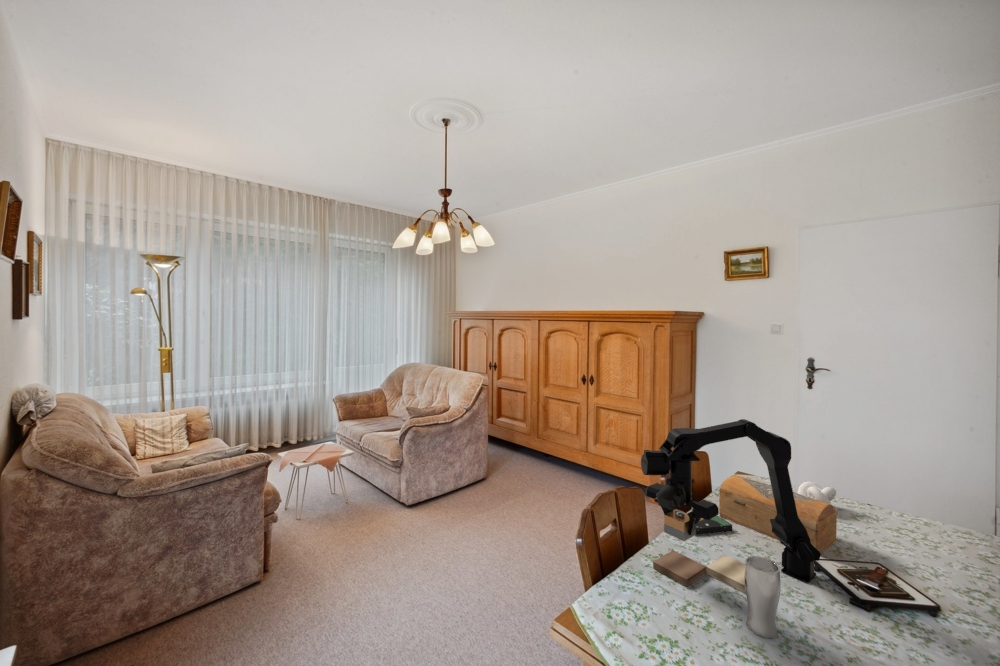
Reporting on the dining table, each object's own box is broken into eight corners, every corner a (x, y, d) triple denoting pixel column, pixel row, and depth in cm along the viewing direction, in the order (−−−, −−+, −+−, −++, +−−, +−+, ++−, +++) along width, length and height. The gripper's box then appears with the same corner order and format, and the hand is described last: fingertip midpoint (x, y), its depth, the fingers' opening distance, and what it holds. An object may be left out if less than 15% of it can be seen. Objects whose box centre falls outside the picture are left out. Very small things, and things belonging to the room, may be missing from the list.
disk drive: (693, 537, 133) (733, 532, 136) (693, 529, 133) (733, 524, 136) (674, 522, 143) (711, 518, 146) (674, 514, 143) (711, 510, 146)
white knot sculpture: (793, 508, 153) (794, 484, 153) (800, 498, 161) (801, 476, 161) (831, 518, 145) (832, 493, 145) (837, 508, 153) (837, 484, 153)
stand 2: (761, 578, 110) (761, 571, 110) (744, 592, 105) (744, 585, 105) (723, 561, 119) (723, 554, 119) (706, 573, 113) (706, 566, 113)
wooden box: (839, 542, 129) (840, 499, 129) (816, 557, 121) (817, 511, 121) (742, 506, 155) (743, 470, 155) (718, 516, 146) (718, 479, 146)
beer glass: (736, 618, 96) (737, 556, 95) (764, 616, 96) (765, 554, 96) (758, 641, 89) (759, 574, 88) (787, 639, 89) (788, 572, 89)
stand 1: (706, 573, 113) (706, 566, 113) (686, 586, 107) (686, 579, 107) (673, 556, 121) (673, 550, 121) (653, 568, 115) (653, 561, 115)
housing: (696, 534, 113) (696, 513, 113) (684, 541, 110) (684, 519, 109) (676, 525, 118) (676, 505, 118) (664, 532, 114) (664, 511, 114)
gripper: (634, 471, 116) (634, 524, 117) (697, 493, 101) (697, 554, 101) (657, 463, 123) (656, 514, 123) (719, 483, 108) (719, 541, 108)
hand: (680, 529), depth 114 cm, fingers closed on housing, 6 cm apart
